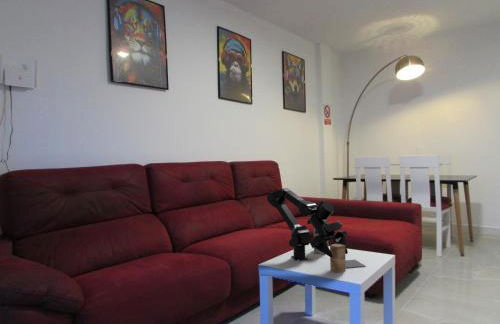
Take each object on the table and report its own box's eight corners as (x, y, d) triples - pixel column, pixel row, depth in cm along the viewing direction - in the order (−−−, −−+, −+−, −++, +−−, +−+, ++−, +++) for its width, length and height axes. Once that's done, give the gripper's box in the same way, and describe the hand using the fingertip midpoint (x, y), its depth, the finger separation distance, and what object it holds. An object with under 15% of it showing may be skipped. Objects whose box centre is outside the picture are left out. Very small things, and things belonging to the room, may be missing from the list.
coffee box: (326, 254, 180) (325, 222, 180) (313, 253, 182) (313, 221, 182) (329, 249, 188) (328, 219, 188) (316, 249, 191) (316, 218, 191)
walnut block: (330, 270, 155) (329, 245, 154) (337, 268, 157) (337, 243, 157) (338, 273, 151) (338, 247, 151) (345, 270, 153) (345, 245, 153)
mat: (335, 262, 167) (335, 261, 167) (354, 260, 168) (354, 259, 168) (344, 268, 157) (344, 267, 157) (365, 266, 159) (365, 265, 159)
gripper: (314, 217, 152) (334, 248, 143) (343, 212, 162) (364, 241, 153) (302, 232, 158) (320, 263, 149) (331, 227, 169) (350, 255, 160)
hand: (339, 255), depth 153 cm, fingers open, 9 cm apart
